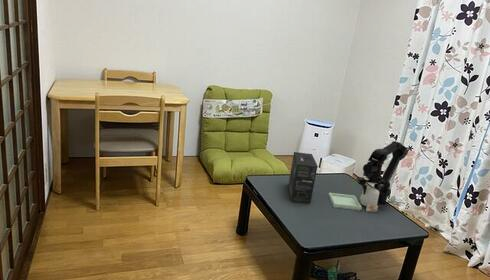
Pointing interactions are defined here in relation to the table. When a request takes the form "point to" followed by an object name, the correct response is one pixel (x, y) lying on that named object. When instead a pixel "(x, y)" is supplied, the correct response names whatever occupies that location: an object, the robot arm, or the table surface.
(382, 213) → the table surface
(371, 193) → the photo printer
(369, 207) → the holder
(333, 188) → the table surface
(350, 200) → the tray
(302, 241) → the table surface
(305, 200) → the headset box
